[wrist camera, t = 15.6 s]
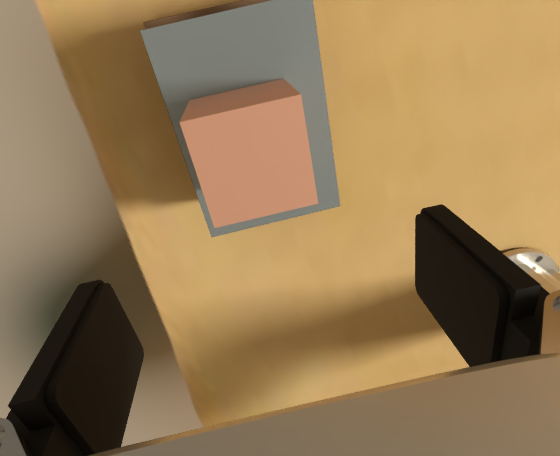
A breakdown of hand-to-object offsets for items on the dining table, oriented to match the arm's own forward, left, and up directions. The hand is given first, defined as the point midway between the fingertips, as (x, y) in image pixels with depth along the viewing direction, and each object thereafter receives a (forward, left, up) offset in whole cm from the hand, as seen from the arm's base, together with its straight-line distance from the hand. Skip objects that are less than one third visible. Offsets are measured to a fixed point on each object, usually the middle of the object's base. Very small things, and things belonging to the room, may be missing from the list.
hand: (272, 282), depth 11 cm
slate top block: (-1, -1, -20) cm, 20 cm away
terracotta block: (0, 0, -15) cm, 15 cm away
